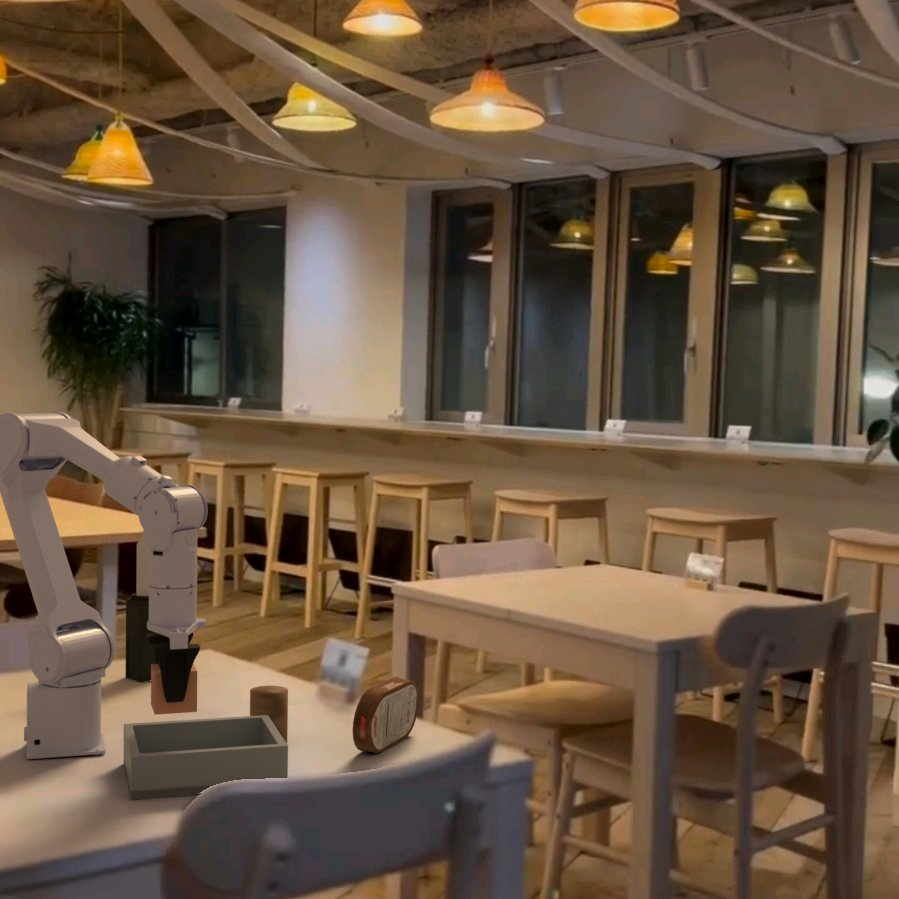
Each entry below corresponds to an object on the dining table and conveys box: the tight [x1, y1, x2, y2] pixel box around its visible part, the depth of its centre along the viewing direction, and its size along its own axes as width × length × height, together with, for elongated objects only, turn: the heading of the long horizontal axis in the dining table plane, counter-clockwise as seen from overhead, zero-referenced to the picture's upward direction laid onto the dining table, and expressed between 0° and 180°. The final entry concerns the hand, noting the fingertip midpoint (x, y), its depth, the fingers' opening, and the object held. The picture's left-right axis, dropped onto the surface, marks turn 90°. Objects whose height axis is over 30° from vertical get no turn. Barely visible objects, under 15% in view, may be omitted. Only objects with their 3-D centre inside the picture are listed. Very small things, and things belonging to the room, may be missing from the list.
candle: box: [124, 529, 156, 683], centre depth 199 cm, size 5×5×25 cm
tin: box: [352, 676, 419, 754], centre depth 166 cm, size 15×3×8 cm, turn 156°
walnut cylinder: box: [249, 685, 289, 744], centre depth 166 cm, size 5×5×7 cm
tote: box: [123, 715, 289, 801], centre depth 151 cm, size 18×14×5 cm
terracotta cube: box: [150, 663, 198, 716], centre depth 152 cm, size 5×5×5 cm
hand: (172, 695), depth 152 cm, fingers closed on terracotta cube, 5 cm apart
